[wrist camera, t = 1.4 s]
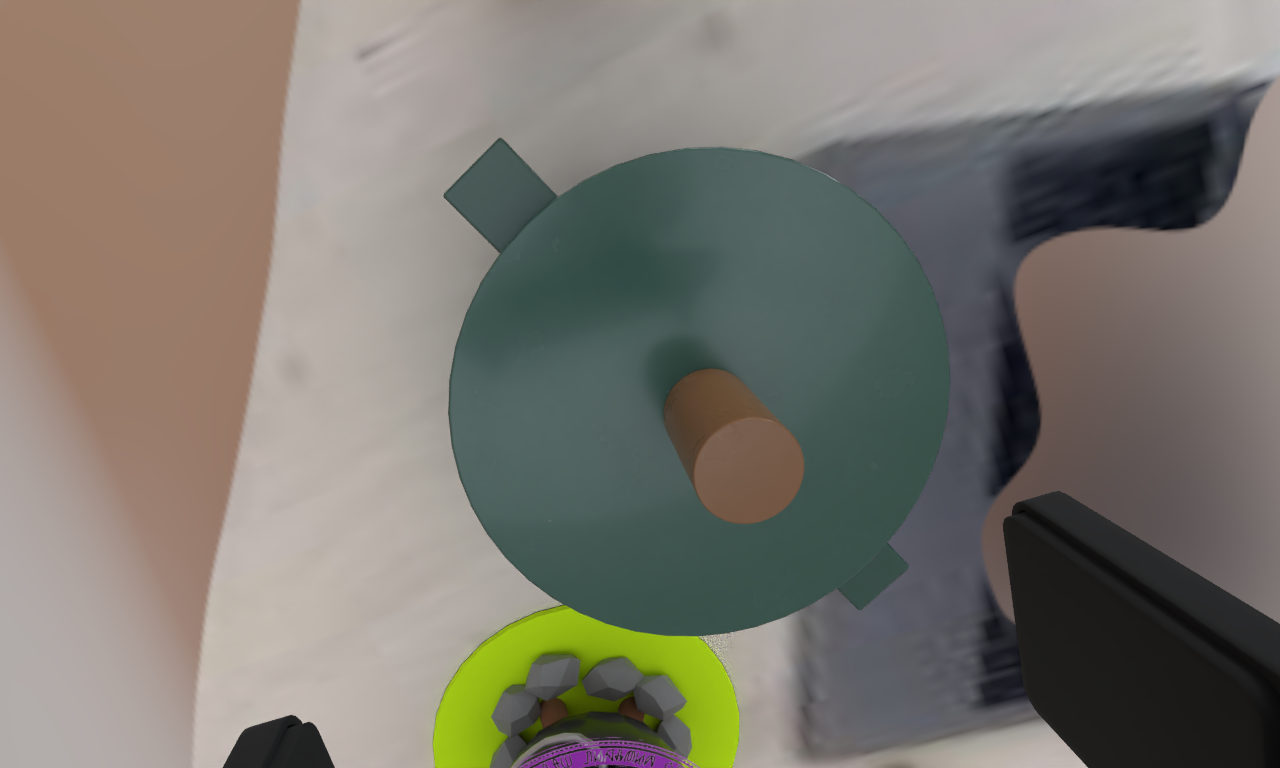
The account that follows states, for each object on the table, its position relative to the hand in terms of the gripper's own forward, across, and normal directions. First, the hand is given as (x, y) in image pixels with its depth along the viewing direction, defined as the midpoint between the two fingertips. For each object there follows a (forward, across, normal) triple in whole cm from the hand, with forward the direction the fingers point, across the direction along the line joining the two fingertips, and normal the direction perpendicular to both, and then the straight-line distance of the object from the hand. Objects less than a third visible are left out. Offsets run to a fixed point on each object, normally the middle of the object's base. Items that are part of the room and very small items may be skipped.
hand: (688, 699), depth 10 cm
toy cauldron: (+24, +5, +19) cm, 31 cm away
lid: (+14, -3, +1) cm, 15 cm away
